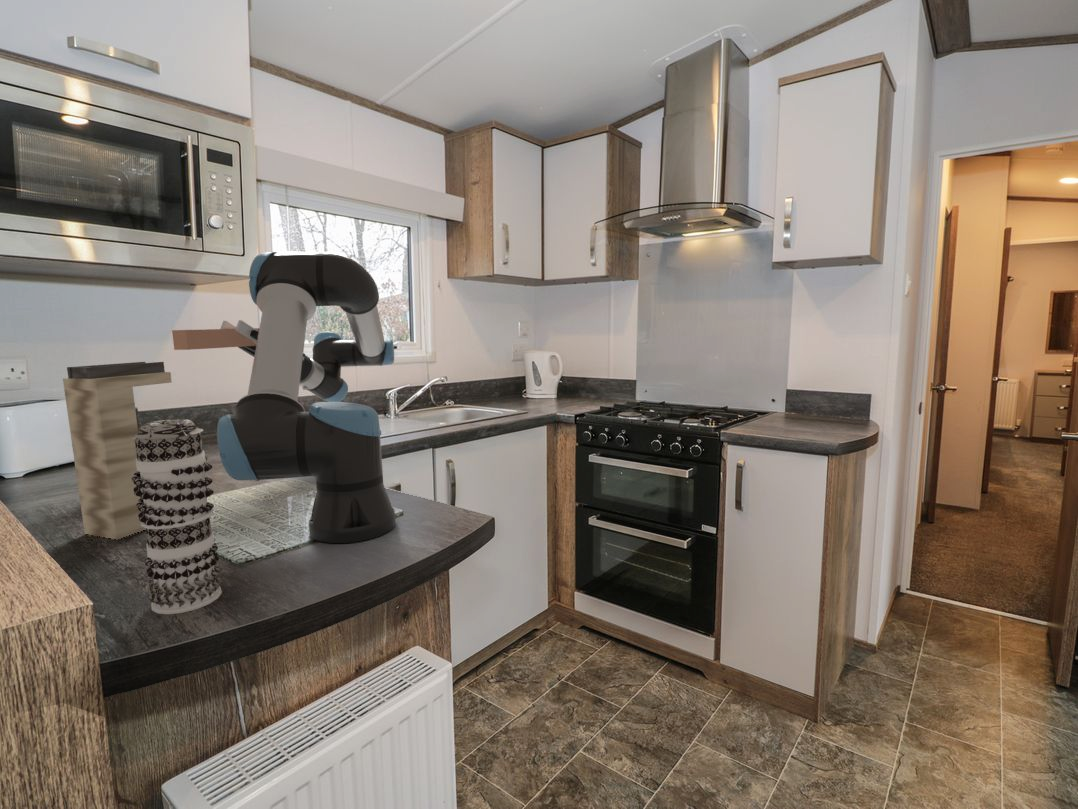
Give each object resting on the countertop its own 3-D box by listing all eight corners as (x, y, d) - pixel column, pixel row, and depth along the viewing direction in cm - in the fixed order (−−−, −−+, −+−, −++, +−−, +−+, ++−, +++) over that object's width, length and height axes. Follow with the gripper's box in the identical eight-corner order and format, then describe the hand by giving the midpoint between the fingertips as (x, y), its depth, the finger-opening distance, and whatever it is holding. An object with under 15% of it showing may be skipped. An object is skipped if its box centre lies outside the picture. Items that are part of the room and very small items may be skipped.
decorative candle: (228, 579, 86) (211, 414, 82) (221, 606, 77) (202, 424, 74) (156, 591, 82) (134, 419, 79) (140, 621, 74) (116, 430, 70)
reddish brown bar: (266, 345, 136) (264, 328, 135) (188, 349, 117) (185, 329, 116) (253, 345, 137) (251, 328, 136) (174, 349, 118) (172, 330, 118)
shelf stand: (186, 515, 115) (169, 361, 111) (117, 540, 103) (94, 367, 98) (156, 511, 118) (137, 361, 114) (84, 534, 106) (61, 367, 102)
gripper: (323, 383, 145) (253, 340, 124) (271, 382, 151) (196, 340, 130) (331, 357, 147) (264, 310, 127) (280, 357, 153) (208, 312, 133)
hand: (230, 325), depth 129 cm, fingers closed on reddish brown bar, 4 cm apart
